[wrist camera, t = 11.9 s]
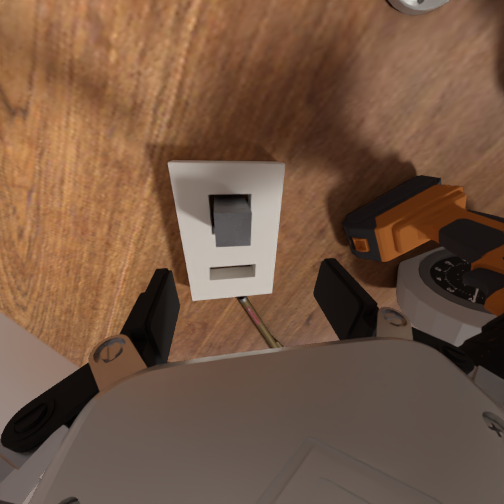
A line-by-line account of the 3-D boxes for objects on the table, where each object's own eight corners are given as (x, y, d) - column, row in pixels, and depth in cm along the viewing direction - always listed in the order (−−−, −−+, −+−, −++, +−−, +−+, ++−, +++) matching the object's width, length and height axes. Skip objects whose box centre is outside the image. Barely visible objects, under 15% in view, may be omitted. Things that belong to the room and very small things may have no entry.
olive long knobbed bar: (228, 294, 37) (250, 283, 37) (287, 376, 53) (301, 369, 53) (231, 311, 33) (256, 299, 33) (294, 395, 49) (310, 386, 49)
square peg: (214, 193, 25) (213, 213, 18) (242, 193, 26) (252, 212, 19) (216, 220, 27) (215, 247, 20) (242, 220, 28) (250, 245, 21)
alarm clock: (484, 230, 37) (711, 304, 20) (473, 259, 41) (655, 342, 24) (380, 269, 38) (513, 373, 21) (379, 294, 42) (491, 398, 25)
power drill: (317, 268, 35) (475, 467, 13) (302, 238, 31) (491, 450, 10) (431, 206, 32) (862, 334, 11) (430, 165, 28) (1097, 236, 7)
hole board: (172, 160, 22) (167, 162, 20) (278, 161, 24) (285, 163, 22) (194, 288, 32) (192, 300, 30) (267, 282, 34) (271, 293, 32)
